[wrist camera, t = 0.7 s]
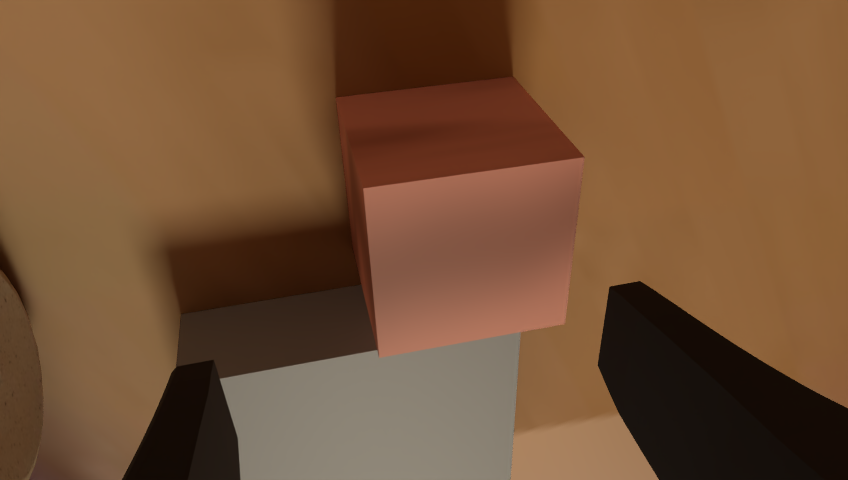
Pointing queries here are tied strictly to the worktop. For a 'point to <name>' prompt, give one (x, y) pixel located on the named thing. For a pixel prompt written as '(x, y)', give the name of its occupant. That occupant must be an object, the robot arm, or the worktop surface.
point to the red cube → (458, 212)
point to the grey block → (354, 393)
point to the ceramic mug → (18, 388)
